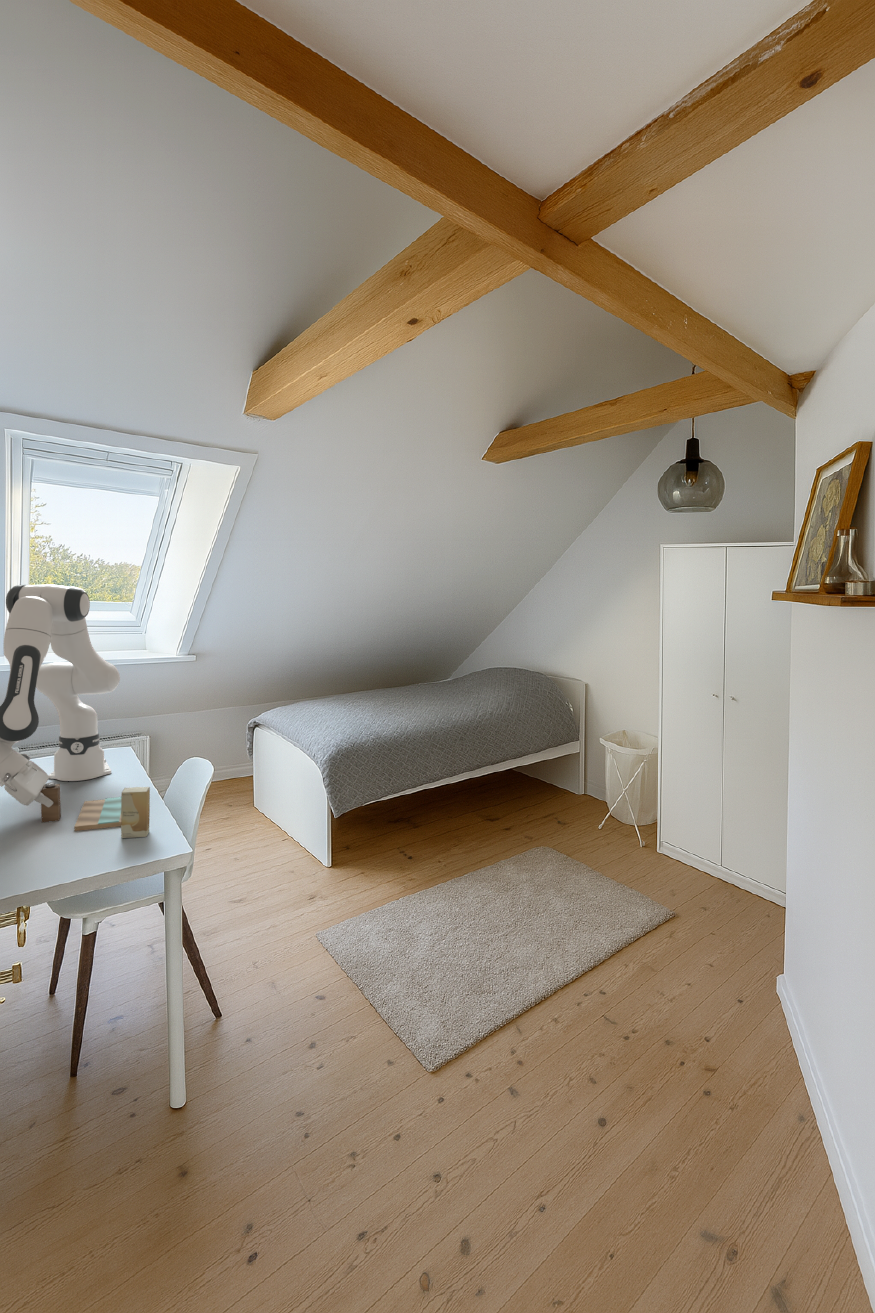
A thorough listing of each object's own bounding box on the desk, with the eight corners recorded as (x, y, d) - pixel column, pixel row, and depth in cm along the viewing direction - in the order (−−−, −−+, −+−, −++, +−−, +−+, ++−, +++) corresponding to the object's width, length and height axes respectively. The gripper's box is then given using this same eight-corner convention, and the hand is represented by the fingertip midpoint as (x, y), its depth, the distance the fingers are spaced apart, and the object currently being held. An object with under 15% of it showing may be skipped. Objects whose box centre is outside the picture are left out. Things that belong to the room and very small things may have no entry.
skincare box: (120, 839, 161) (119, 792, 160) (124, 832, 165) (123, 787, 164) (148, 837, 163) (147, 790, 162) (150, 831, 167) (150, 786, 166)
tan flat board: (84, 805, 186) (84, 800, 186) (140, 800, 192) (140, 795, 191) (74, 831, 166) (74, 825, 165) (137, 824, 171) (137, 819, 171)
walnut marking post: (44, 817, 175) (43, 782, 174) (60, 816, 176) (59, 781, 176) (41, 822, 171) (40, 786, 170) (58, 820, 173) (57, 785, 172)
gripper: (10, 771, 160) (56, 804, 165) (27, 752, 179) (67, 782, 183) (-10, 790, 159) (37, 823, 163) (9, 769, 177) (50, 799, 182)
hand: (53, 801), depth 174 cm, fingers closed on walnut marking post, 4 cm apart
